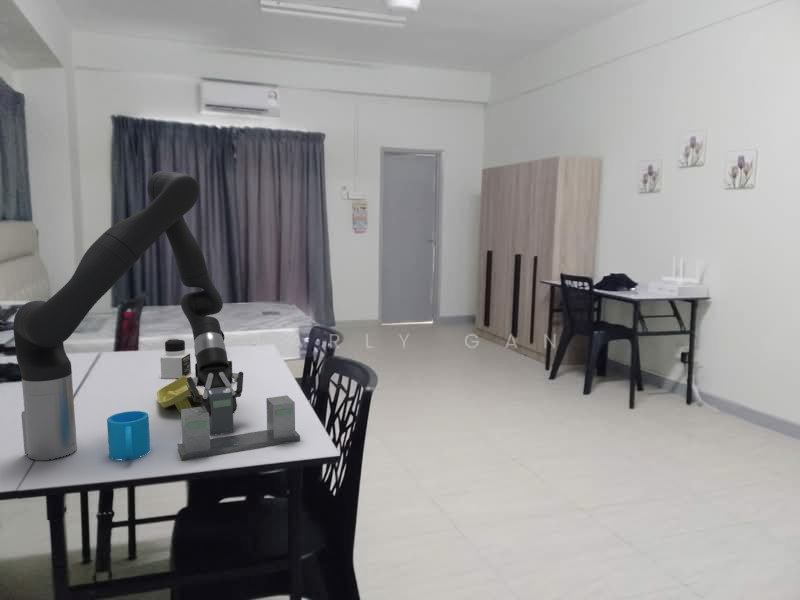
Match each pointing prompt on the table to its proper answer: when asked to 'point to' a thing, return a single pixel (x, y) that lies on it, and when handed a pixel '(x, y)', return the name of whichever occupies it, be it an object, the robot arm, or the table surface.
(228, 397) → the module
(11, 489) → the table surface
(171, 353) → the medicine bottle
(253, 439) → the rail
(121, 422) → the mug
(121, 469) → the table surface
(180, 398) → the plastic component
